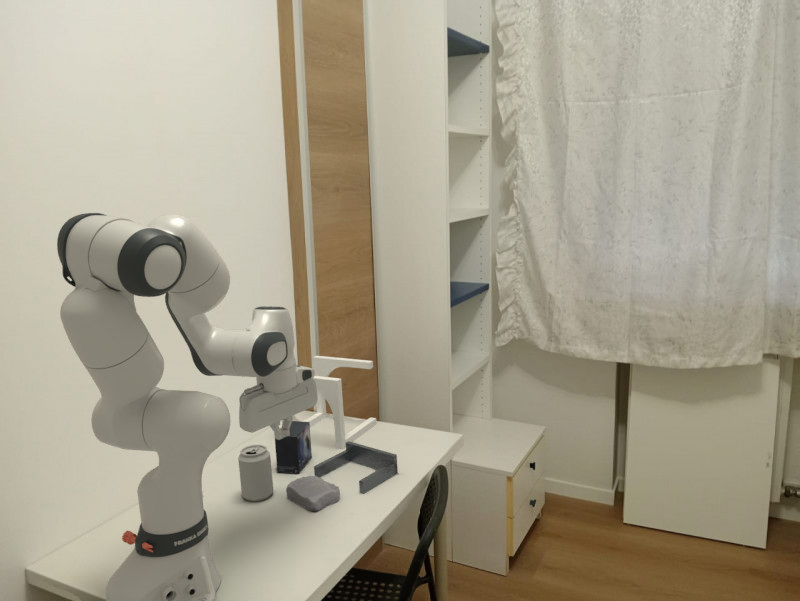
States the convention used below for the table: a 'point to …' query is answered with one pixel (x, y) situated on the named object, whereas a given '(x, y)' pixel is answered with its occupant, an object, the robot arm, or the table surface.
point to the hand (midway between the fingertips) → (282, 437)
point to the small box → (294, 448)
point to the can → (255, 472)
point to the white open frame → (336, 397)
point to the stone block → (312, 493)
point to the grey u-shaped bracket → (363, 456)
